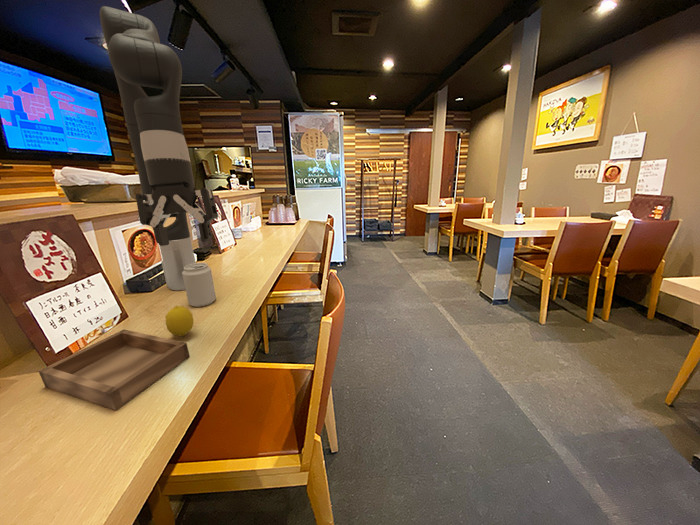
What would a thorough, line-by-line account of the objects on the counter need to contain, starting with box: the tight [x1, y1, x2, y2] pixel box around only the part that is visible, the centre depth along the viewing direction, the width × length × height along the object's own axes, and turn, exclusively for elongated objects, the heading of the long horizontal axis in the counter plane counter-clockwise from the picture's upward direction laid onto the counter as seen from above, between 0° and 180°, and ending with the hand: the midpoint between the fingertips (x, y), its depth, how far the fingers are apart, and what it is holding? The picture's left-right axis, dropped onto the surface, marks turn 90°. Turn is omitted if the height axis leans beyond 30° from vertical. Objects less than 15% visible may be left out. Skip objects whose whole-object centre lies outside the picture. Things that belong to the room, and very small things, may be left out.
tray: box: [38, 329, 190, 412], centre depth 53 cm, size 18×14×4 cm
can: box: [182, 262, 217, 308], centre depth 80 cm, size 8×8×12 cm
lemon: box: [165, 305, 195, 337], centre depth 64 cm, size 6×6×8 cm
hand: (185, 243), depth 55 cm, fingers open, 8 cm apart
